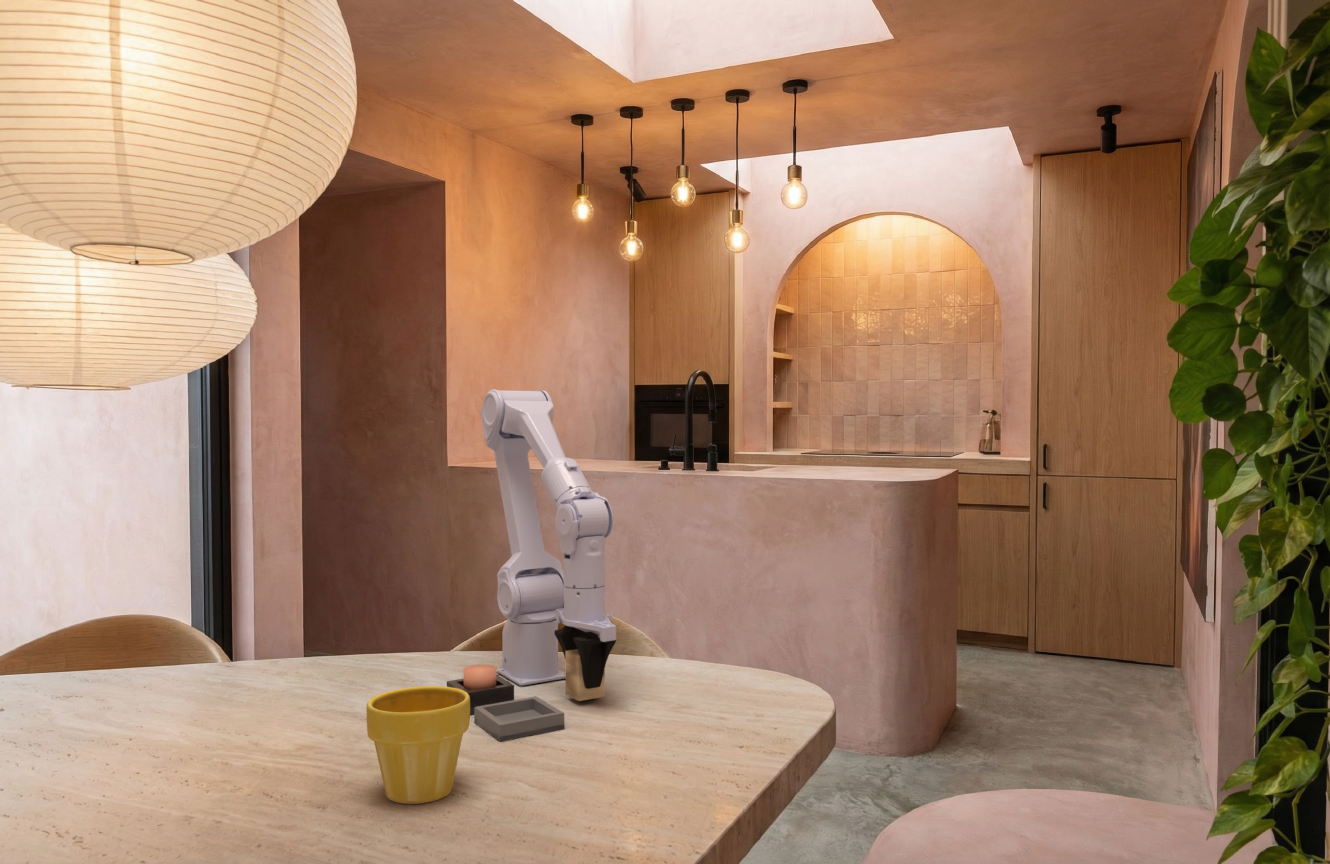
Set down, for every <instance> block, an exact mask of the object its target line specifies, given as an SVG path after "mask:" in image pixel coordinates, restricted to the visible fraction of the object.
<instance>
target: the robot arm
mask: <svg viewBox="0 0 1330 864" xmlns="http://www.w3.org/2000/svg"><path fill="white" fill-rule="evenodd" d="M480 417H481V423H482V429H483V435H484V439H485V445H486V447H487V448H488V449H490V450H492V451H493V452H494V459H495V464H496V465H495V467H496V471H497V478H498V482H499V489H500V494H501V500H502V506H503V512H504V518H505V524H506V530H507V535H508V541H509V542H508V543H509V548H510V549H509V550H510V553H511V556H510V558H509V559H508V560H507V561H506V562H505V563H504V564H503V565H502V566H501V567H500V568H499V570H498V572H497V574H496V578H497V594H496V598H497V605H498V608H499V611H500V613H501V614H502V615H503V616H504V618H505V619H506V622H505V623H504V625H503V627H502V628H503V629H502V633H501V634H502V638H501V639H502V640H501V641H502V667H500V668H496V673H498V674H499V675H501V676H503V677H504V678H507V679H508V680H510V681H511V682H513V683H515V684H517V685H519V686H527V685H533V684H534V685H535V684H539V683H546V682H551V681H552V682H553V681H557V680H562V679H563V680H564V679H566V671H563V670H560V669H559V645H560V647H561V650H562V654H563V657H564V660H565V662H566V651H569V650H575V649H578V652H579V655H580V659H581V664H582V674H583V681H584V685H585V688H587V689H591V688H596V687H600V686H601V682H602V678H603V673H604V669H605V668H606V665H607V662H608V659H609V657H610V653H611V651H612V649H613V648H614V646H615V644H616V643H617V626H616V625H615V624H614V623H612V622H611V621H612V620H613V614H611V613H609V612H606V545H605V544H606V539H605V538H608V537H609V535H611V533H612V530H613V526H614V514H613V513H614V512H613V509H612V506H611V504H610V502H609V499H608V498H606V497H604V496H601V495H600V494H599V493H598V492H594V491H593V490H592V488H591V486H590V485H589V482H588V480H587V478H586V477H585V475H584V473H583V472H582V470H581V468H580V465H579V464H578V462H577V461H576V460H575V459H573V458H571V457H566V455H565V452H564V450H563V446H562V445H561V442H560V440H559V437H558V435H557V432H556V430H555V427H554V424H553V423H554V417H555V406H554V403H553V399H552V398H551V396H550V393H548V392H547V391H546V390H543V389H539V390H509V389H508V390H505V389H504V390H503V389H502V390H500V389H499V390H498V389H494V388H492V389H489V390H488V391H487V393H486V394H485V396H484V397H483V400H482V407H481V409H480ZM530 450H532V452H533V454H534V455H535V456H536V458H537V459H538V461H539V462H540V464H541V466H542V467H543V470H542V471H541V474H540V480H541V482H542V484H543V487H544V489H545V491H546V492H547V494H548V496H549V498H550V501H551V503H552V505H553V506H554V509H555V512H556V515H555V518H554V527H555V531H556V534H557V536H558V542H559V543H558V545H559V551H560V553H562V554H563V565H562V562H561V561H560V560H559V559H558V558H556V557H554V556H553V555H551V554H550V553H549V552H547V551H546V550H545V546H544V545H545V544H544V539H543V534H542V528H541V524H540V517H539V513H538V512H539V510H538V506H537V501H536V495H535V490H534V484H533V479H532V473H531V467H530V463H529V462H530V461H529V452H530ZM562 566H563V567H562ZM559 624H563V625H564V626H563V627H562V628H559ZM605 670H606V669H605Z"/></svg>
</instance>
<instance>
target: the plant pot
mask: <svg viewBox="0 0 1330 864" xmlns="http://www.w3.org/2000/svg"><path fill="white" fill-rule="evenodd" d="M470 717H471V715H470V697H469V695H468V693H467V692H465V691H463V690H460V689H457V688H451V687H447V686H442V685H441V686H440V685H438V686H437V685H426V686H425V685H423V686H411V687H405V688H404V687H403V688H397V689H393V690H390V691H386V692H383V693H380V694H377V695H375V696H373V697H371V698H370V699H369V700H368V701H367V703H366V731H367V732H366V733H367V737H368V738H369V739H370V740H371V741H372V742H374V747H375V751H376V756H377V760H378V765H379V769H380V774H381V778H382V783H383V788H384V791H385V796H386V798H388V800H389V801H392V802H395V803H398V804H402V805H403V804H405V805H418V804H420V805H421V804H426V803H430V802H435V801H437V800H441V799H442V798H444V797H446V796H448V795H449V794H450V793H451V792H452V789H453V786H454V779H455V775H456V774H455V773H456V769H457V766H458V765H457V764H458V760H459V756H460V749H461V747H462V741H463V737H464V734H465V733H466V732H467V731H468V730H469V728H470V721H471V719H470Z"/></svg>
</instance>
